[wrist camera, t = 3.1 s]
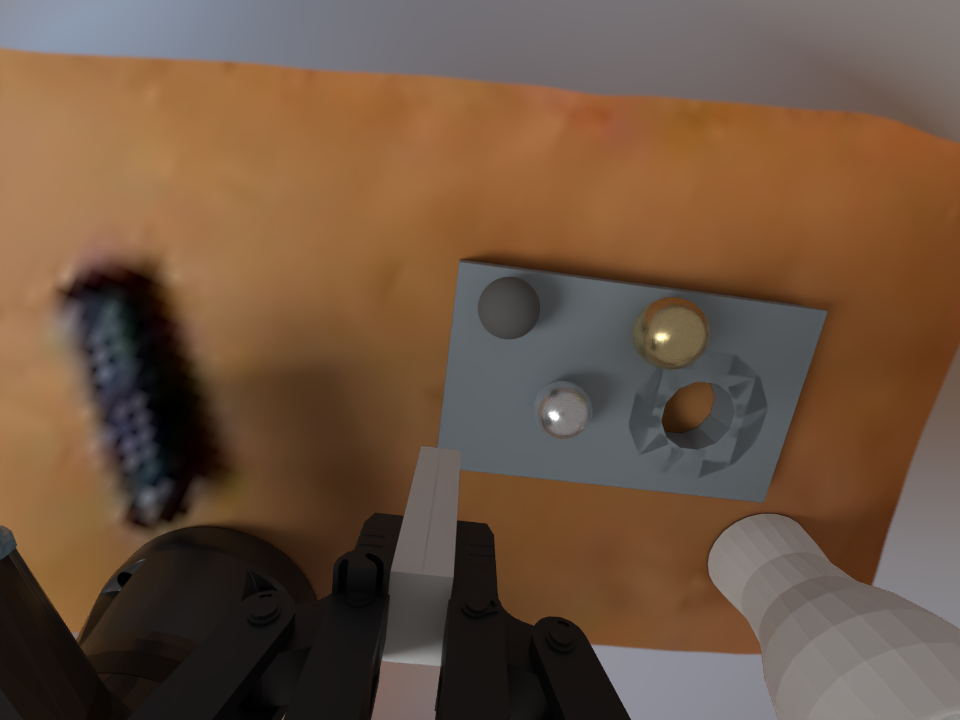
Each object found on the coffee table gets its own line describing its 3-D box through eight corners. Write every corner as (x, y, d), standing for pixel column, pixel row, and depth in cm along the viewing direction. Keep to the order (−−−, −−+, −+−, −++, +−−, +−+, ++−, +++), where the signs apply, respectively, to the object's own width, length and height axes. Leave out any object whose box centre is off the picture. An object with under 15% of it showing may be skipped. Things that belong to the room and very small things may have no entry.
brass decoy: (615, 354, 28) (639, 374, 24) (630, 288, 27) (657, 298, 23) (680, 362, 28) (713, 383, 24) (696, 297, 27) (734, 308, 23)
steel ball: (525, 421, 29) (533, 446, 26) (534, 370, 28) (543, 388, 25) (579, 428, 29) (593, 453, 26) (589, 377, 28) (605, 396, 25)
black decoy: (473, 328, 27) (474, 341, 24) (481, 270, 26) (483, 276, 23) (530, 335, 28) (538, 349, 24) (540, 278, 27) (549, 284, 23)
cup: (764, 468, 33) (991, 653, 19) (857, 546, 35) (1128, 769, 21) (659, 567, 35) (790, 802, 21) (752, 636, 37) (932, 894, 23)
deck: (437, 449, 32) (435, 467, 30) (460, 259, 29) (459, 262, 26) (742, 483, 33) (763, 502, 31) (799, 304, 30) (828, 311, 28)
